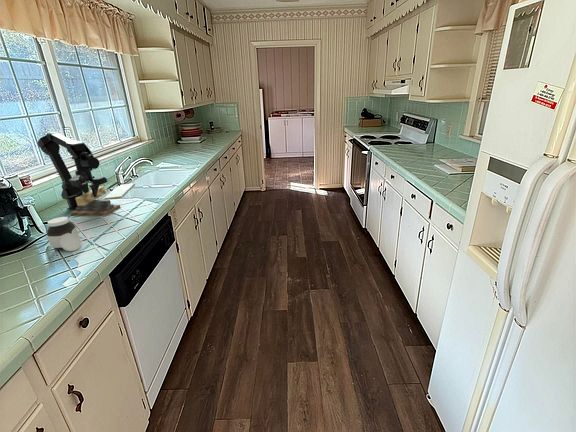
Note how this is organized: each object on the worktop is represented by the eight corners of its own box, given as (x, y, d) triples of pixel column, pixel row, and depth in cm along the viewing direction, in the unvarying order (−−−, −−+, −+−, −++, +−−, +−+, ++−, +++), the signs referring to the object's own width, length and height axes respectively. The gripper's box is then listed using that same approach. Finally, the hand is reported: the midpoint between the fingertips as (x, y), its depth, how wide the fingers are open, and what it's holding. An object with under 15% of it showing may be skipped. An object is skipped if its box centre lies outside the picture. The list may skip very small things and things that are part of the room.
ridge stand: (71, 215, 164) (67, 204, 162) (87, 207, 175) (84, 197, 173) (105, 215, 161) (102, 204, 159) (120, 207, 172) (117, 196, 170)
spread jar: (66, 241, 133) (57, 215, 129) (92, 240, 133) (84, 214, 128) (45, 254, 122) (34, 227, 118) (73, 253, 121) (63, 226, 117)
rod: (99, 193, 175) (97, 186, 173) (105, 193, 175) (104, 186, 173) (77, 205, 156) (75, 198, 155) (84, 205, 156) (82, 197, 155)
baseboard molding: (100, 200, 188) (121, 198, 189) (98, 196, 187) (120, 194, 188) (116, 187, 216) (135, 185, 218) (115, 182, 215) (134, 181, 217)
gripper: (53, 172, 153) (64, 202, 159) (88, 171, 150) (97, 202, 156) (71, 166, 164) (80, 195, 169) (103, 165, 161) (111, 195, 166)
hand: (91, 197), depth 165 cm, fingers closed on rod, 4 cm apart
